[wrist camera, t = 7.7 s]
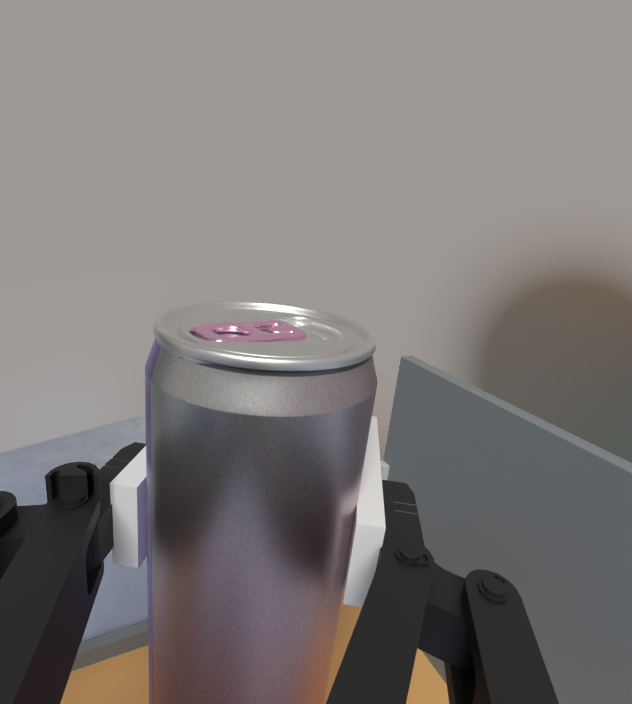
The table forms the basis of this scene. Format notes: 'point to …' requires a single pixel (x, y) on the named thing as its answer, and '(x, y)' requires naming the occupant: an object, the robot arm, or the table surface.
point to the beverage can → (251, 497)
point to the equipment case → (478, 541)
